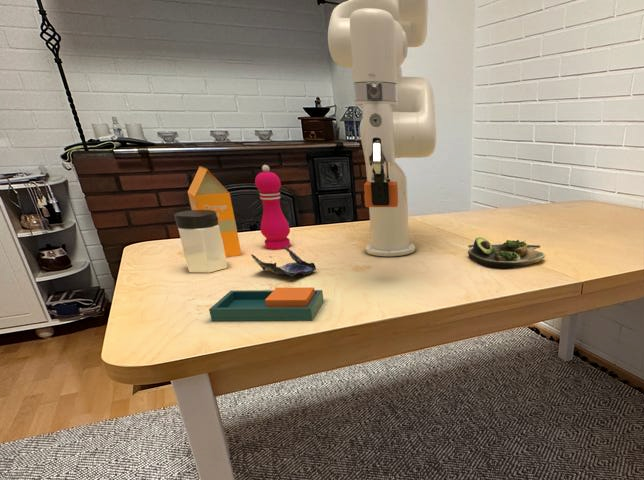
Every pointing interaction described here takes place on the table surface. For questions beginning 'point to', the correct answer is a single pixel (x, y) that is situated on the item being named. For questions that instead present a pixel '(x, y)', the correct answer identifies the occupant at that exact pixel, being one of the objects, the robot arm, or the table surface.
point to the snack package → (288, 265)
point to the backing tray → (260, 307)
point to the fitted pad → (290, 297)
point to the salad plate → (504, 253)
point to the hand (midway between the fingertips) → (381, 201)
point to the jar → (201, 240)
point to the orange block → (392, 195)
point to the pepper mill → (272, 210)
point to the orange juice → (215, 207)
